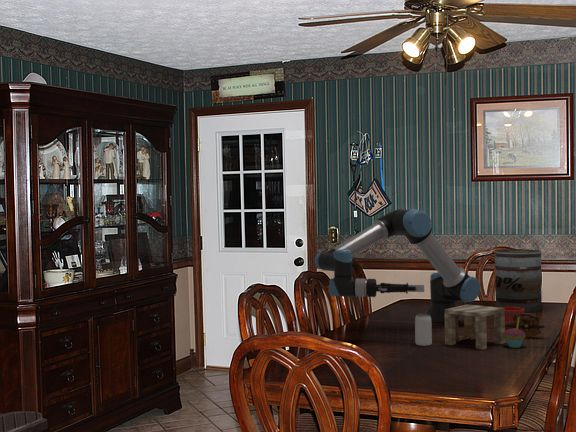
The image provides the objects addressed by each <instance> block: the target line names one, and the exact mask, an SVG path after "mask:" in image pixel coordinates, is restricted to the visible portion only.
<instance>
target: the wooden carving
mask: <svg viewBox="0 0 576 432" xmlns="http://www.w3.org/2000/svg"><path fill="white" fill-rule="evenodd" d="M519 316H520V317H519ZM518 318H520V319H519V326H518V329H519V330H522V331H523V332H524V333H525V334H526V335H525V338H533V337H535V336H538V335H540V334H542V331H541V330H540V329H545V328H546V326H545V325H540V318H539V315H534V314H533V313H522V314H519V315H516V314H515V315H514V318H513V320H514V323H508V324H505V328H506V330H508V329H513V328H516V327H517V321H518Z"/></svg>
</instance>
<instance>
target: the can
mask: <svg viewBox="0 0 576 432" xmlns="http://www.w3.org/2000/svg"><path fill="white" fill-rule="evenodd" d="M414 328H415V329H414V333H415V334H414V335H415V336H414V339H415V345H416V346H420V347H429V346H431V345H432V342H433V340H432V339H433V335H432V333H433V331H432V322H431V317H430V314H428V313H416V315H415V318H414Z"/></svg>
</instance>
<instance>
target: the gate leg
mask: <svg viewBox="0 0 576 432" xmlns="http://www.w3.org/2000/svg"><path fill="white" fill-rule="evenodd" d="M463 316H464V318H463V319H464V321H463V324H464V334H462V335H459V321H458V315H457V314H455V333H456V343H458V342H459V341H463V340H476V320H475V317H474V316H466V315H463Z"/></svg>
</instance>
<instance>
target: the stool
mask: <svg viewBox="0 0 576 432" xmlns="http://www.w3.org/2000/svg"><path fill="white" fill-rule="evenodd" d="M455 314H457V315H460V316H464V315H466V316H474V317H475V320H476V339H475V349H477V350H486V349H487V348H488V346H487V345H488V344H487V343H488V340H487V339H488V336H487V333H488V332H487V317H488V316H493V332H494V333H493V334H494V335H493V336H494V337H493V338H494V341H493V342H494V344H499V345H502V344H505V343H506V339H505V338H504V337H503V332H504V331H505V311H504V308H498V307H496V306H488V305H487V306H485V305H475V304H474V305H473V304H464V305H459V306H457V307H454V308H449V309H445V323H444V344H445V345H448V346H453V345H456V344H457V342H456V333H455Z"/></svg>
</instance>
